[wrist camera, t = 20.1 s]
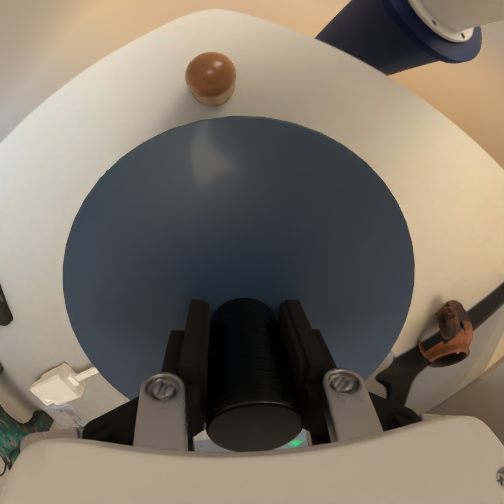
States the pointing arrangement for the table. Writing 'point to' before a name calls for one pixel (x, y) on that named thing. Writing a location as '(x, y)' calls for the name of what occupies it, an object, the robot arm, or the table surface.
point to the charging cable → (61, 384)
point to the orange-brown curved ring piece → (450, 337)
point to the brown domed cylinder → (211, 78)
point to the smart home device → (4, 311)
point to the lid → (238, 264)
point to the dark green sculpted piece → (18, 433)
